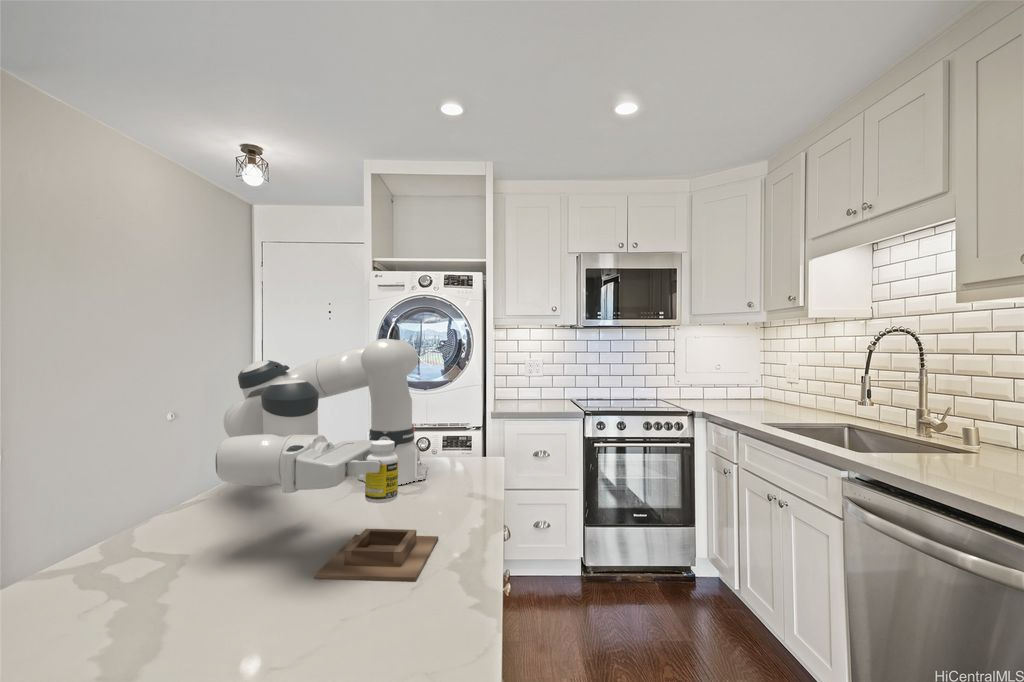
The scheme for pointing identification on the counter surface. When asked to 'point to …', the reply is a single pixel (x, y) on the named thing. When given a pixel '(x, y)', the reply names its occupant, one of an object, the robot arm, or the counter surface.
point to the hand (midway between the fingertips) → (387, 461)
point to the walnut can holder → (380, 556)
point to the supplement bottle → (382, 473)
